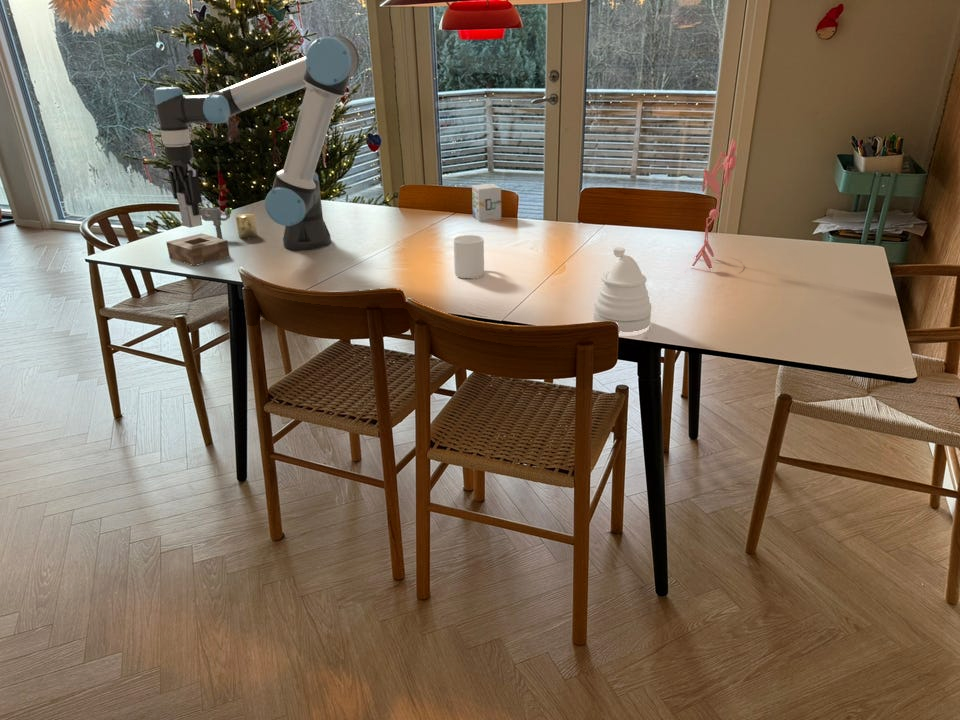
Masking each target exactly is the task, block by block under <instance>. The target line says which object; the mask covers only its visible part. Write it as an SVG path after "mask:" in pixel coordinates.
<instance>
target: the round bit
mask: <svg viewBox="0 0 960 720" xmlns="http://www.w3.org/2000/svg"><path fill="white" fill-rule="evenodd" d="M235 221H236V228H237V235H238V238H239V239H241V238H242V239H243V240H249V239H248V238H250V239H254V237H255V238H257V237H258V230H257V224H256V218H255V214H254V213H240V214H237V215H235Z"/></svg>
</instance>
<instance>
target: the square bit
mask: <svg viewBox="0 0 960 720" xmlns="http://www.w3.org/2000/svg"><path fill="white" fill-rule="evenodd" d="M177 197H178V201H177V202H178V206H179V212H180V217H181V222H182V226H183V227H187V228H193V227H192V224H191V219H190V214H189V208H188V205H187V204H189V201H188V197H187V194H186V191H182V192H177ZM199 204H200V203H199ZM199 204H198V209H200V205H199ZM199 214H200V210H199ZM200 220H201V225H200V226H203V222H202V215H201V214H200ZM195 227H197V226H195ZM195 227H194V228H195Z"/></svg>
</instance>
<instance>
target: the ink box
mask: <svg viewBox="0 0 960 720" xmlns="http://www.w3.org/2000/svg"><path fill="white" fill-rule="evenodd" d="M471 190H472V191H471V192H472V193H471V194H472V199H471V200H472V201H471V202H472V217H473V218H474V219H476V221H478V222H479V223H481V222H491V221H501V220H502V188H501V187H500V186H499V185H497V184H495V183H492V182H491V183H483V184H482V183H481V184H472V185H471Z"/></svg>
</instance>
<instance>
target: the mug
mask: <svg viewBox="0 0 960 720" xmlns="http://www.w3.org/2000/svg"><path fill="white" fill-rule="evenodd" d="M484 240H485V238H484V237H482V236H479V235H475V234H467V235H459V236H456V237H455V238H453V260H454V262H453V263H454V264H453V265H454V274H455V276H456V277H457V276H458V277H457V278H459V277H460V278H459V279H462V278H468V279H467V280H470V279H469V278H475V279H478V278H477V277H479V278H481V277H483V275H484V273H485V256H484V255H485V249H484V248H485V247H484V244H485V243H484V242H485V241H484ZM480 276H481V277H480Z"/></svg>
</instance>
